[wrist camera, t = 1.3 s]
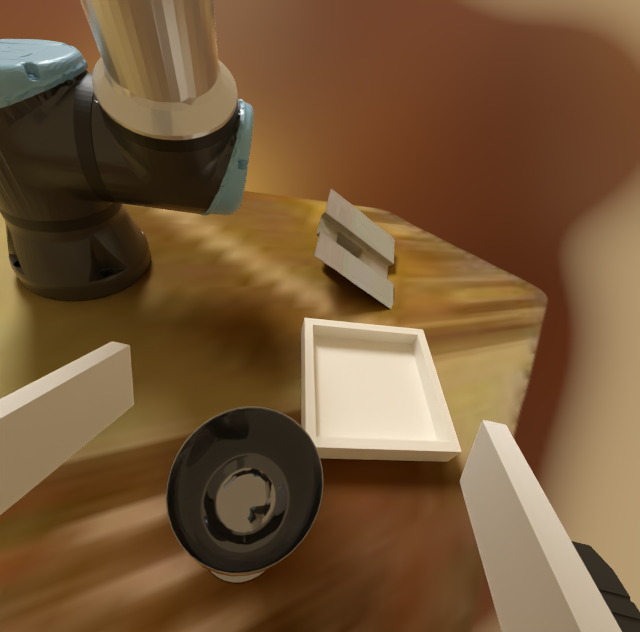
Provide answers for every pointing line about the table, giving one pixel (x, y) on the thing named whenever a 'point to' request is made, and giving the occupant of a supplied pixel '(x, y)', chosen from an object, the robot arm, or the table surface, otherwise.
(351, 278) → the grey display stand
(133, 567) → the table surface
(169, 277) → the table surface
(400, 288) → the table surface
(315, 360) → the tray
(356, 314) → the table surface
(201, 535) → the silver metal goblet
